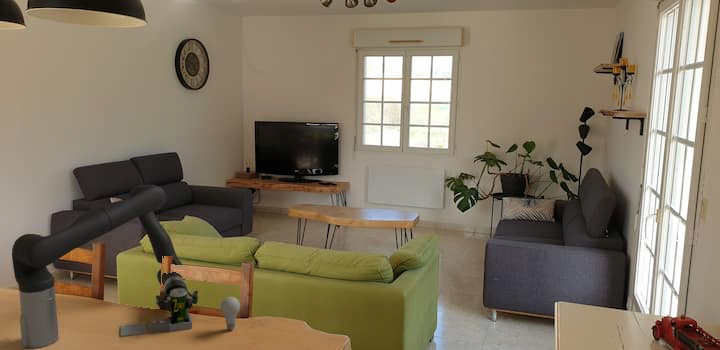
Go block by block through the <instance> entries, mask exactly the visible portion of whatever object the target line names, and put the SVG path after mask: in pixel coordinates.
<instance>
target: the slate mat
mask: <svg viewBox="0 0 720 350" xmlns="http://www.w3.org/2000/svg"><path fill="white" fill-rule="evenodd" d="M144 334H148V332H147V322H141V323H134V324H125V325H120V338H122V337H123V338H124V337H129V336H130V337H131V336H137V335H144Z"/></svg>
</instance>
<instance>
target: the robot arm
mask: <svg viewBox="0 0 720 350" xmlns="http://www.w3.org/2000/svg"><path fill="white" fill-rule="evenodd" d="M166 194H167V193H166V192H165V190H164V189H163V188H162V187H160V186H158V185H155V184H138V185H135V186H134V187H133V188H132V189H131V191H130V192H129V197H128V198H125V199H121V200H118V201H117V200H115V201H113V202H108V203H104V204H100V205H99V206H96V207H94V208H92V209H89V210H87V211H85V212H83V213H81V214H80V215H79V216H77V217H76V218H75V219H74V221H73V222H72V223H71V224H70V225H69V226H67V227H65V228H64V229H62V230H59V231H57V232H55V233H52V234H50V235H45V236H44V235H40V234H39V235H38V234H34V233H26V234H25V233H24V234H23V235H21V236H19V237H18V238H17V239H16V240H15V241H14V242H13V245H12V249H11V259H12V268H13V275H14V278H15V281H16V284H17V286H18V292H19V294H18V295H19V303H20V304H19V305H20V314H21V315H20V316H19V323H20V324H19V325H20V335H21V346H22V349H23V348H24V349H25V348H28V349H29V348H31V349H37V348H43V347H47V346H50V345H52V344H54V343H56V342H57V341H58V340H59V339H60V338H59V337H60V336H59V327H58V326H59V324H58V311H57V300H56V299H57V298H56V288H55V287H56V285H55V284H56V283H55V277H54V275H53V274H52V273H51V272H50V271H49V270H48V267H47V266H50V265H51V264H53V263H55V262H56V261H58V260H60V259H61V258H63V257H64V256H66V255H67V254H69V253H71V252H72V251H74V250H76V249H77V248H80V247H81V246H84V245H86V244H88V243H90V242H91V241H94V240H96V239H98V238H100V237H102V236H104V235H106V234H108V233H110V232H112V231H114V230H116V229H117V228H120V227H122V226H123V225H124V226H125V224H127V223H129V222H131V221H133V220H134V219H135V220H136V218H138V219H139V221H140V223H141V225H142V228H143V229H144V232H145V233H146V234H147V237H148V240H149V242H150V244H151V247H152V251H153V253H154V256H155V259H156V261H157V262H158V263H159V264H163V263H162V256H163V258H164V256H173V260H172V262H173V264H175V265H184V264H183V262H182V261H181V260H180V259H179V257H178V255H177V253H176V251H175V247H174V245H173V242H172V239H171V237H170V235H169V233H168V232H167V231H166V229H165V228H164V227H163V225H162V224H161V222H160V221H159V220H158V218H157V216H156V214H155V212H156V211H157V210H159V209H161V208H162V207H163V205H164V204H165V202H166V198H167V195H166ZM173 264H172V265H173ZM161 269H162V268H159V270H158V271H157V273H156V278H157V281H158V283H159V285H160V286H161ZM185 280H186V279H183V278H182V276H181V275H180V274H178V273H176V272H172V273H168V274H166V273H163V275H162V283H163V285H164V287H163V293H164V295H163V296H162V295H156V296H155V303H156V306H158V308H159V309H160V310H161V309H164V308H165V309H166V311H167V312H168V313H171V303H170V293H171V290H173V289H177V288H184V289H186V290H187V296H188V310H191V309H192V308H193V305H197V304H198V302H199V291H198V290H194V292H192V293H191V292H190V291H189V289H188V286H187V283H186V281H185Z"/></svg>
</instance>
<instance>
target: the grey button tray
mask: <svg viewBox="0 0 720 350" xmlns="http://www.w3.org/2000/svg"><path fill="white" fill-rule="evenodd" d="M191 317H192V316H191V313H188V322H184V323H177V324H171V316H167V317H164V318H156V319H150V320H149V328H150V334H157V333H158V334H159V333H164V332H165V333H166V332H169V333H170V332H177V331H178V332H180V331H185V330H193V321H192V318H191Z"/></svg>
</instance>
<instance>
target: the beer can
mask: <svg viewBox="0 0 720 350" xmlns="http://www.w3.org/2000/svg"><path fill="white" fill-rule="evenodd" d="M170 303H171V312H170V317H171V324H177V323H184V322H188V314H189V309H188V296H187V290H186V289H184V288H177V289H173V290H171V293H170Z"/></svg>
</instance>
